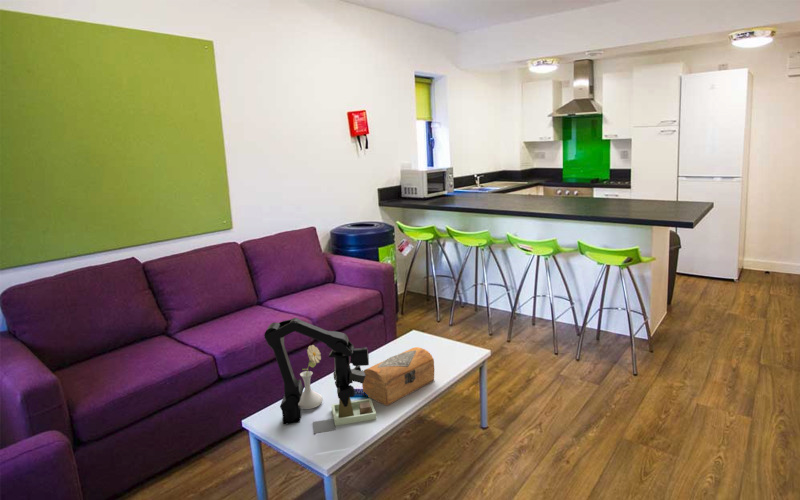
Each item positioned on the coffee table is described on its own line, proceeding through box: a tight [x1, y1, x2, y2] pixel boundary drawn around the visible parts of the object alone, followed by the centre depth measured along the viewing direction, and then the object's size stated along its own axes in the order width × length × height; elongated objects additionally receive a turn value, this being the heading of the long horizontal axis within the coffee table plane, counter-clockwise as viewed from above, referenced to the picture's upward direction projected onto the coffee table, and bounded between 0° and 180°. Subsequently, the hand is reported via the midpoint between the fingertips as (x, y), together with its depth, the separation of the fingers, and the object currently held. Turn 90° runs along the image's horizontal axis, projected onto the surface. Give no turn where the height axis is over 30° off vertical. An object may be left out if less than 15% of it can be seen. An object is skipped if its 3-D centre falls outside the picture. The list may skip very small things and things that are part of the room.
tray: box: [331, 398, 377, 427], centre depth 198 cm, size 16×12×3 cm
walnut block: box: [359, 402, 371, 415], centre depth 197 cm, size 4×4×4 cm
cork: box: [338, 397, 354, 418], centre depth 196 cm, size 6×6×11 cm
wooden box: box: [361, 346, 435, 407], centre depth 217 cm, size 30×16×14 cm, turn 134°
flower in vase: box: [298, 344, 324, 410], centre depth 206 cm, size 13×11×25 cm
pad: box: [312, 418, 337, 435], centre depth 191 cm, size 8×8×1 cm
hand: (345, 403), depth 196 cm, fingers closed on cork, 5 cm apart
